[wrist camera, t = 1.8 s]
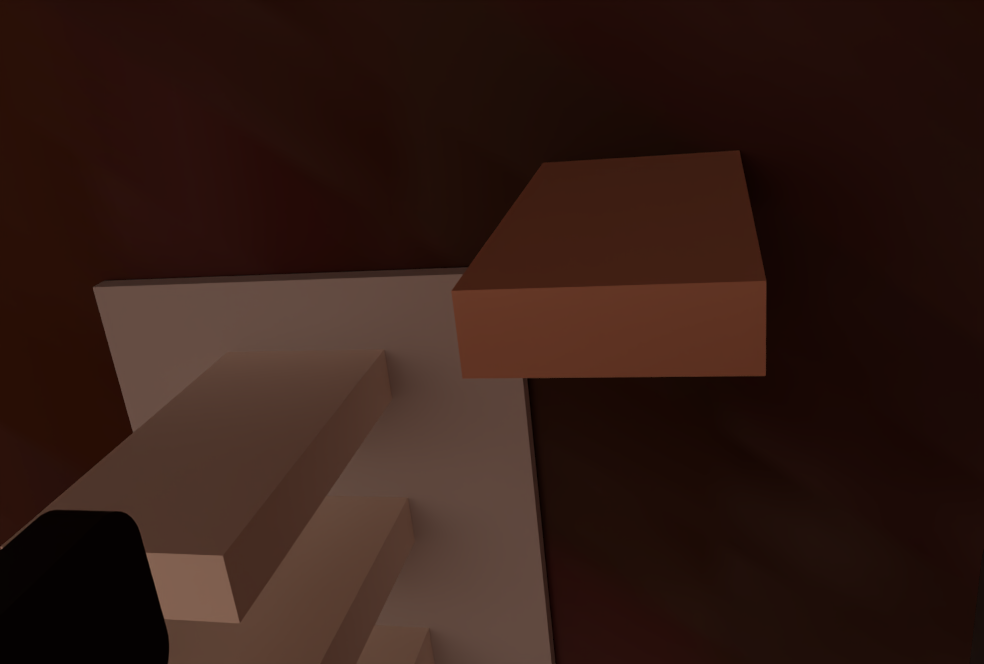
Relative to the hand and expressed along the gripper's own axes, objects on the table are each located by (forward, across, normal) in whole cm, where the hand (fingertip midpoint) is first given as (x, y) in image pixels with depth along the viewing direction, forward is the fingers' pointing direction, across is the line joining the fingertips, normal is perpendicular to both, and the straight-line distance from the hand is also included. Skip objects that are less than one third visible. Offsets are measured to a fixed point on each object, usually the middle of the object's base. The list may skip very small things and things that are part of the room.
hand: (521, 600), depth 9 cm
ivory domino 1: (+16, +10, +5) cm, 20 cm away
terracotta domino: (+17, 0, 0) cm, 17 cm away
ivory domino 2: (+16, +10, +10) cm, 21 cm away
